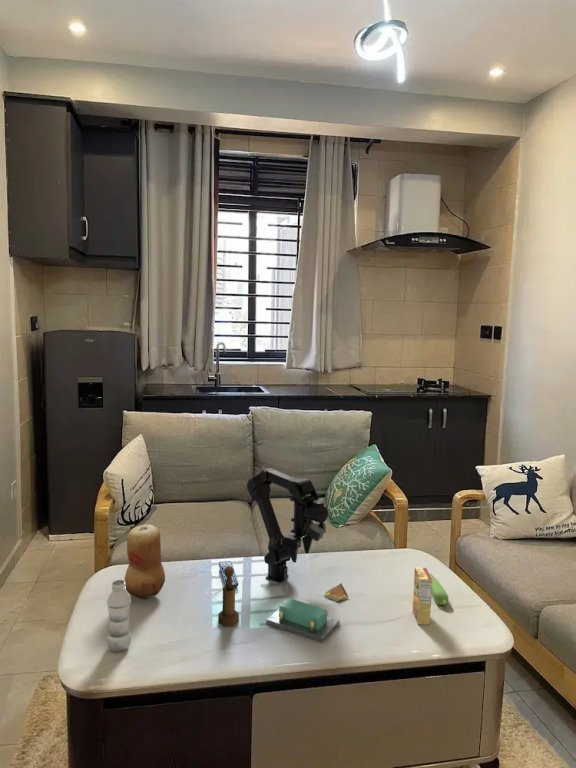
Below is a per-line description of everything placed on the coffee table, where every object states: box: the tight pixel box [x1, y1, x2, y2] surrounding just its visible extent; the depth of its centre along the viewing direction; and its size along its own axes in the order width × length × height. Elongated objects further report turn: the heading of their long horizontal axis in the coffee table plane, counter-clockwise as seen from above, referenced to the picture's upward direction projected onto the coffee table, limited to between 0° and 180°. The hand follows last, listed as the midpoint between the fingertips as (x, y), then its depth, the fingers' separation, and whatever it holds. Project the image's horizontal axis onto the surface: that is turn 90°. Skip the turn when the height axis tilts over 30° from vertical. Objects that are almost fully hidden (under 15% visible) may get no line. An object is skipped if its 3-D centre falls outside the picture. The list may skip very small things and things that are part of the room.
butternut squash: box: [124, 524, 166, 600], centre depth 195 cm, size 14×13×25 cm
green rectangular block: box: [278, 597, 328, 630], centre depth 180 cm, size 14×6×4 cm, turn 59°
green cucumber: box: [429, 573, 450, 606], centre depth 202 cm, size 5×20×5 cm
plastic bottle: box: [106, 579, 132, 653], centre depth 164 cm, size 6×7×20 cm
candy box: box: [412, 567, 433, 626], centre depth 185 cm, size 9×4×15 cm, turn 0°
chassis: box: [265, 608, 340, 643], centre depth 180 cm, size 20×12×4 cm, turn 60°
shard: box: [324, 582, 349, 602], centre depth 201 cm, size 11×8×2 cm
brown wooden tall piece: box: [217, 566, 240, 627], centre depth 180 cm, size 7×6×18 cm
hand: (300, 557), depth 202 cm, fingers open, 9 cm apart
